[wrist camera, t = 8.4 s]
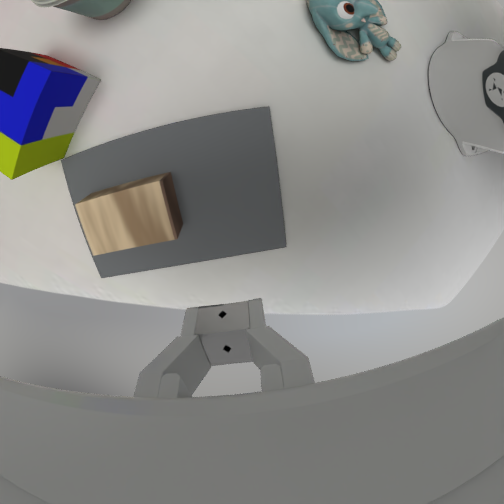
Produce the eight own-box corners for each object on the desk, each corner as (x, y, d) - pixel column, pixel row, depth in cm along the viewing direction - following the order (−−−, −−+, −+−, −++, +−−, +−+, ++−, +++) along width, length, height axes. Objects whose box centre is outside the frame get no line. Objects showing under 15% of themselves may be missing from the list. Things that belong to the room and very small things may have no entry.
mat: (268, 106, 25) (269, 106, 25) (285, 245, 33) (286, 247, 32) (62, 159, 25) (61, 160, 25) (102, 276, 33) (101, 278, 32)
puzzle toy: (101, 79, 22) (51, 70, 13) (64, 157, 25) (11, 179, 16) (46, 55, 19) (-6, 47, 10) (15, 127, 22) (-38, 141, 13)
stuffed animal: (405, 90, 20) (310, 12, 15) (363, 86, 26) (278, 28, 21) (434, 24, 16) (353, -51, 11) (393, 27, 22) (319, -31, 17)
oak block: (162, 180, 24) (74, 204, 24) (177, 239, 26) (93, 255, 26) (170, 171, 27) (91, 193, 27) (183, 223, 30) (106, 240, 30)
